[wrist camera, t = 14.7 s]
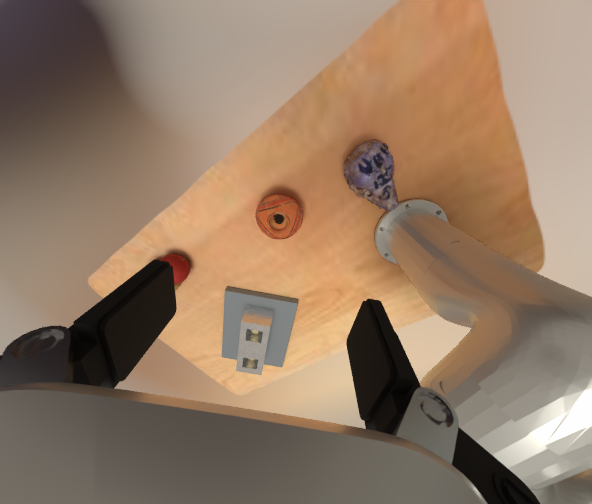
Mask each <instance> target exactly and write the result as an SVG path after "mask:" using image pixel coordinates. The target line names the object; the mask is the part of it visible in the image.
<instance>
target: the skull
mask: <svg viewBox="0 0 592 504" xmlns="http://www.w3.org/2000/svg"><path fill="white" fill-rule="evenodd" d="M344 171H345V174H344V176H345V178H346V179H347V182H348V184H349V187H350V189H352V190H354V192H355V193H356V195H357V196H359V197H363V198H367V200H368V201H371V202H372V203H373V204H375V205H378V206H379V208H380V209H381V208H384V209H385V210H394V209H395V208H396V206H398V200H397V193H396V190H395V185H394V180H393V175H394V162H393V157H392V155H391V154H390V152H389V150H388V146H387V145H386V144H385V143H382V142H381V141H379V140H376V139H375V140H371V141H366V142H364V143H363V144H361V145H359V146H358V147H357V148H356V149H355V151H354V152H353V154H352V155H351V156H348V157H347V161H345V162H344ZM358 187H359V188H358Z"/></svg>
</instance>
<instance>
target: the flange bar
mask: <svg viewBox="0 0 592 504" xmlns="http://www.w3.org/2000/svg"><path fill="white" fill-rule="evenodd" d="M273 312H274V310H273V309H267V308H262V307H256V306H251V305H247V307H246V310H245V312H244V315H243V318H242V320H241V327H240V337H239V347H238V357H237V367H236V371H240V372H246V373H252V374H258V375H261V374H262V369H263V364H264V359H265V354H266V349H267V344H268V338H269V333H270V328H271V322H272V317H273ZM251 330H255V331H259V333H257V334H254V333H252V331H251ZM248 358H250V359H255V360H249V359H248Z"/></svg>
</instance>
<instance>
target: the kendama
mask: <svg viewBox="0 0 592 504" xmlns="http://www.w3.org/2000/svg"><path fill="white" fill-rule="evenodd" d="M160 260H161V261H167V262H169V263H170V265H171V266H172V267H173V273H174V285H175V291H176V290H177V289H178V288H179V286H180V285H181V283H182V282H183V281H184V280H185V279H186V278H187V277H188V275H189V271H190V266H189V263H188V262H187V260H186V259H185V258H183V257H182V256H179V255H174V254H172V255H167V256H165V257H163V258H161V259H160Z"/></svg>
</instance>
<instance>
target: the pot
mask: <svg viewBox="0 0 592 504" xmlns="http://www.w3.org/2000/svg"><path fill="white" fill-rule="evenodd" d="M256 221H257V224H258V226H259V228H260V229H261V231H262V232H263V233H265V234H266V235H267V236H269V237H271V238H273V239H285V238H288V237H290V236H292V235H293V234H295V233H296V232H297V231H298V230H299V228H300V226H301V224H302V221H303V213H302V210H301V208H300V206H299V204H298V203H297V201H295V200H294V199H293V198H292V197H290V196H287V195H284V194H273V195H270V196H267V197H266V198H264V199H263V200H262V201H261V202H260V204H259V205H258V207H257V210H256Z"/></svg>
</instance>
